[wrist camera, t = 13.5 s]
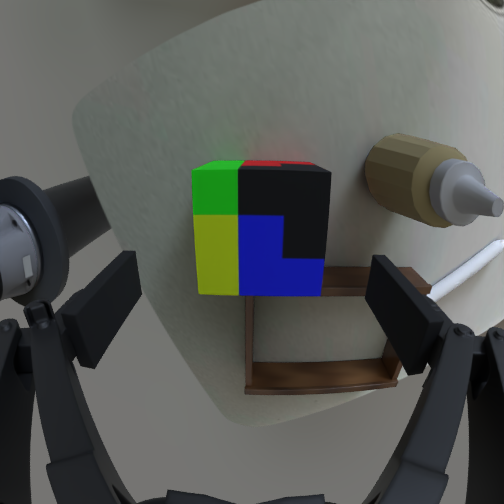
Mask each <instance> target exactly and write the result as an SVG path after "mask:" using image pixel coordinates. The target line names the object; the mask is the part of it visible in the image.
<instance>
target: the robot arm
mask: <svg viewBox="0 0 504 504" xmlns="http://www.w3.org/2000/svg"><path fill="white" fill-rule="evenodd" d="M43 269H44V257H43V251H42V246H41V242H40V239H39V236H38V234H37V231H36V229H35V227H34V225H33V223H32V222H31V220H30V219H29V217H28V216H27V215H26V213H25V212H24V211H23V210H22V209H21V208H19V207H18V206H16V205H14V204H12V203H2V204H0V301H1V300H3V299H7V298H11V297H14V296H18V295H22V294H25V293H27V292H29V291H31V290H32V289H33V288H34V287H36V286H37V285H38V283H39V282H40V280H41V278H42V275H43ZM141 295H142V291H141V285H140V279H139V272H138V266H137V259H136V252H135V251H122V252H121V253H120V254H119V255H118V256H117V257H116V258H115V259H114V260H113V261H112V262H111V263H110V264H109V265H108V266H107V267H106V268H104V270H102V272H100V273H99V274H98V275H97V276H96V277H95V278H94V279H93V280H92V281H91V282H90V283H89V284H88V285H87V286H86V287H85V288H84V289H81V290H80V291H78V292H76V293H74V294H73V295H72V296H71V297H70V298H69V300H67V301H66V302H65V305H62V306H61V308H60V309H59V310H58V311H57V312H56V313H55V314H54V312H53V309H52V306H51V303H50V301H49V300H47V299H38V300H35V301H32V302H30V303H29V304H27V305H26V306H25V308H24V310H23V311H24V314H25V317H26V319H27V322H28V325H29V327H30V328H20V327H19V324H18V322H17V320H15V319H5V320H2V321H1V322H0V504H31V488H30V440H31V425H32V413H33V404H34V395H35V391H36V397H37V403H38V409H39V414H40V419H41V424H42V429H43V433H44V437H45V441H46V445H47V449H48V452H49V456H50V460H51V463H49V464H47V465H46V470H47V475H48V478H49V481H50V484H51V487H52V490H53V493H54V495H55V498H56V501H57V504H235V503H231V502H228V501H224V500H220V499H217V498H214V497H210V496H208V495H204V494H195V493H187V492H180V491H174V490H168V491H167V495H166V497H162V498H153V499H149V500H145V501H142V502H139V503H136V502H135V500H134V499H133V498H132V496H131V495H130V494H129V492H128V491H127V489H126V487H125V486H124V484H123V482H122V481H121V479H120V477H119V475H118V473H117V471H116V469H115V467H114V465H113V463H112V461H111V459H110V457H109V455H108V453H107V451H106V449H105V446H104V444H103V442H102V440H101V438H100V435H99V433H98V430H97V428H96V426H95V423H94V421H93V418H92V416H91V413H90V411H89V408H88V405H87V403H86V400H85V397H84V394H83V391H82V389H81V385H80V382H79V379H78V376H77V373H76V370H75V367H74V364H73V362H72V361H73V360H74V358H75V357H76V356H77V359H78V361H79V363H80V366H82V367H87V368H92V369H95V368H96V366H97V364H98V363H99V361H100V359H101V358H102V356H103V354H104V353H105V351H106V349H107V348H108V346H109V344H110V343H111V341H112V339H113V338H114V337H115V335H116V333H117V332H118V330H119V329H120V327H121V326H122V324H123V322H124V321H125V319H126V318H127V316H128V315H129V313H130V312H131V310H132V309H133V307H134V306H135V304H136V303H137V301H138V300H139V298H140V297H141ZM365 300H366V302H367V303H368V305H369V307H370V308H371V310H372V312H373V313H374V315H375V317H376V318H377V320H378V322H379V324H380V325H381V327H382V329H383V331H384V332H385V334H386V336H387V338H388V340H389V341H390V343H391V345H392V347H393V349H394V350H395V352H396V354H397V356H398V358H399V360H400V361H401V363H402V365H403V367H404V369H405V371H406V373H407V375H408V376H409V375H415V374H421V373H423V371H424V369H425V367H426V365H427V362H428V364H429V366H430V367H431V370H430V372H429V374H428V376H427V378H426V380H425V382H424V384H423V386H422V387H423V390H422V392H421V395H420V397H419V400H418V402H417V404H416V407H415V409H414V411H413V414H412V416H411V418H410V420H409V423H408V425H407V427H406V429H405V431H404V433H403V435H402V437H401V439H400V441H399V443H398V445H397V447H396V449H395V451H394V453H393V455H392V457H391V458H390V460H389V462H388V464H387V465H386V467H385V469H384V471H383V472H382V474H381V476H380V477H379V480H378V481H377V482H376V484H375V486H374V487H373V489H372V490H371V492H370V493H369V495H368V496H367V498H366V499H365V500H364V502H363V503H362V504H439V503H440V500H441V498H442V496H443V493H444V491H445V488H446V486H447V482H448V479H449V478H448V475H447V474H445V469H446V466H447V463H448V461H449V457H450V455H451V452H452V449H453V445H454V442H455V439H456V435H457V432H458V428H459V424H460V420H461V416H462V412H463V408H464V404H465V399H466V394H467V403H468V419H469V467H468V483H467V494H466V503H465V504H504V330H502V329H501V328H497V327H492V328H489V330H488V331H487V334H486V336H485V337H482V336H475V334H474V332H473V331H472V330H471V329H470V328H469V327H467V326H465V325H463V324H458V323H456V324H454V323H453V322H452V321H451V320H450V319H449V318H448V316H447V315H446V314H445V313H444V312H443V311H442V310H441V309H440V307H439V306H437V304H436V303H435V302H434V301H433V300H432V299H431V298H429V297H428V296H426V295H424V294H423V295H422V294H421V293H420V292H419V291H418V290H417V289H416V288H415V287H414V285H413V284H412V283H411V282H410V281H409V280H408V279H407V278H406V277H405V276H404V275H403V274H402V273H401V271H400V270H399V269H398V268H397V267H396V266H395V265H394V264H393V263H392V262H391V261H390V260H389V259H388V258H387V257H386V256H385V255H373V256H372V262H371V268H370V273H369V279H368V284H367V289H366V294H365ZM259 504H336V503H331V502H325V499H324V494H319V495H309V496H296V497H284V498H280V499H276V500H272V501H268V502H263V503H259Z"/></svg>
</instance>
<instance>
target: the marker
mask: <svg viewBox="0 0 504 504" xmlns="http://www.w3.org/2000/svg"><path fill="white" fill-rule="evenodd" d="M503 247H504V240H496V241H494V242H492V243H491V244H489V245H488V246H487V247H486V248H484V249H483V250H482V251H480V252H479V253H478V254H477V255H475V256H474V257H473V258H471V259H470V260H469V261H467V262H466V263H465V264H463V265H462V266H461V267H459V268H458V269H456V270H455V271H454V272H452V273H451V274H449V275H448V276H447V277H445V278H444V279H442V280H441V281H439V282H438V283H436V284H435V285H433V286H432V289H431V292H430V294H427V296H428V297H429V298H431V299H432V300H433V301H434V302H436V301H438V300H439V299H441V298H442V297H444V296H445V295H446V294H448V293H449V292H451V291H452V290H454V289H455V288H456V287H458V286H459V285H460V284H462V283H463V282H465V281H466V280H467V279H469V278H470V277H471V276H473V275H474V274H475V273H476V272H478V271H479V270H480V269H482V268H483V267H484V266H485V265H487V264H488V263H489V262H490V261H492V260H493V259H494V258H495V257H496V256H498V255H499V254H500V253H501V251H502V250H503Z"/></svg>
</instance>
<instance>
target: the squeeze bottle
mask: <svg viewBox="0 0 504 504" xmlns="http://www.w3.org/2000/svg"><path fill="white" fill-rule="evenodd" d="M364 172H365V176H366V180H367V183H368V187H369V191H370V193H371V194H372V195H373V197H374V198H375V200H376V201H377V202H378V204H380V205H381V206H383V207H385V208H386V209H388V210H390V211H392V212H395V213H398V214H400V215H403V216H406V217H409V218H411V219H414V220H417V221H419V222H422V223H425V224H427V225H430V226H432V227H441V228H446V227H448V226H451V225H457V226H465V225H468V224H470V223H472V222H473V221H474V220H475V219H476V218H477V217H478V216H479V215H484V216H493V217H499V216H500V215H501V214H502V212H503V209H504V203H503V200H502V199H501V198H500V197H498V196H497V195H496V194H494V193H493V192H492V191H490V190H489V189H488V188H486V187H485V180H484V178H483V176H482V174H481V171H480V170H479V169H478V168H477V167H476V166H475V165H474V164H473V163H471V162H468V161H467V159H466V157H465V156H464V155H463V154H462V153H461V152H459V151H458V150H457V149H456V148H454V147H450V146H447V145H443V144H440V143H436V142H433V141H429V140H425V139H421V138H417V137H413V136H409V135H404V134H399V133H397V134H393V135H390V136H386V137H384V138H383V139H382V140H381V141H379V142H378V143H377V144H376V145H375V146H374V147H373V148H372V150H371V151H370V153H369V155H368V157H367V159H366V161H365V171H364Z"/></svg>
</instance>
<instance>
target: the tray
mask: <svg viewBox="0 0 504 504" xmlns="http://www.w3.org/2000/svg"><path fill="white" fill-rule="evenodd" d="M370 268H371V267H324V271H323V279H322V288H321V296H365V294H366V289H367V284H368V279H369V273H370ZM397 268H398V269H399V270H400V271H401V273H402V274H403V275H404V276H405V277H406V278H407V279H408V280H409V281H410V282H411V283H412V284H413V285H414V287H415V288H416V289H417V290H418V291H419V292H420V293H421V294H422V295H423V294H424V295H426V296H427V294H430V292H431V289H432V286H431V285H430V284H428V283H427V282H426V281H425V280H424V279H423V278H422V277H421V276H420V275H419V274H418V273H417V272H416V271H415V270H414V269H413V268H412V267H397ZM253 336H254V296H245V363H246V386H245V394H249V395H306V394H328V393H342V392H354V391H364V390H374V389H382V388H389V387H396V386H397V383H398V380H397V377H398V375H399V373H400V370H401V368H402V363H401V361H400V360H399V358H398V356H397V354H396V352H395V350H394V349H393V347H392V345H391V343H390V341H389V340H388V339H387V342H386V346H385V349H384V352H383V355H382V358H377V359H365V360H351V361H333V362H299V363H268V362H253Z"/></svg>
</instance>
